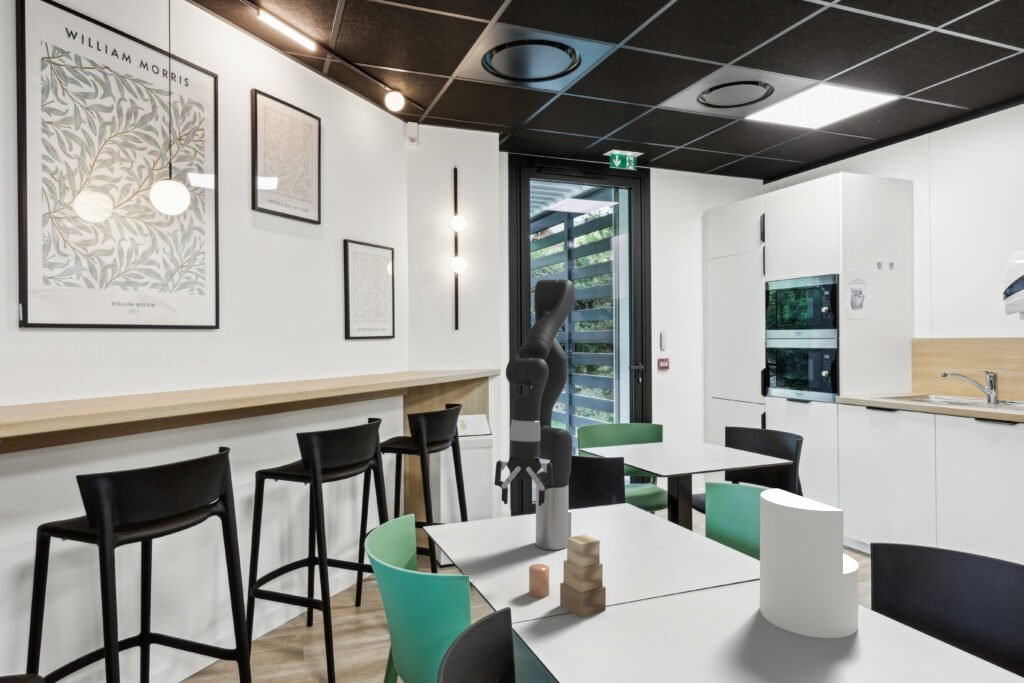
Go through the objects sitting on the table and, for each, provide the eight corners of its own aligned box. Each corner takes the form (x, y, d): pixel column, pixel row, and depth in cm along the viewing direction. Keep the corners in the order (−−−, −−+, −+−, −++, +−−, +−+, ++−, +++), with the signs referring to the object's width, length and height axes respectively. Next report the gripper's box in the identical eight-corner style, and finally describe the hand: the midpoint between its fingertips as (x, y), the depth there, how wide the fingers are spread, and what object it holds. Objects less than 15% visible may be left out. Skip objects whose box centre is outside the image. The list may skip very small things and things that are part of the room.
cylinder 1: (541, 588, 146) (541, 562, 145) (553, 595, 142) (553, 569, 142) (525, 592, 143) (525, 566, 143) (536, 599, 139) (536, 572, 139)
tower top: (585, 556, 138) (585, 534, 138) (599, 563, 134) (599, 540, 134) (567, 560, 136) (567, 538, 136) (581, 568, 132) (581, 544, 132)
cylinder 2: (796, 642, 120) (797, 513, 120) (742, 601, 138) (743, 489, 138) (880, 633, 124) (881, 508, 124) (816, 595, 142) (817, 486, 142)
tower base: (585, 598, 140) (585, 576, 140) (605, 610, 134) (605, 587, 134) (560, 605, 136) (560, 583, 136) (579, 618, 130) (580, 594, 130)
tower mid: (585, 577, 139) (585, 555, 139) (602, 587, 134) (602, 563, 134) (563, 583, 136) (563, 560, 136) (580, 592, 131) (580, 569, 131)
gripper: (554, 438, 157) (552, 502, 156) (498, 435, 159) (496, 499, 158) (553, 441, 150) (551, 509, 149) (494, 438, 151) (492, 506, 150)
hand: (522, 504), depth 153 cm, fingers open, 8 cm apart
